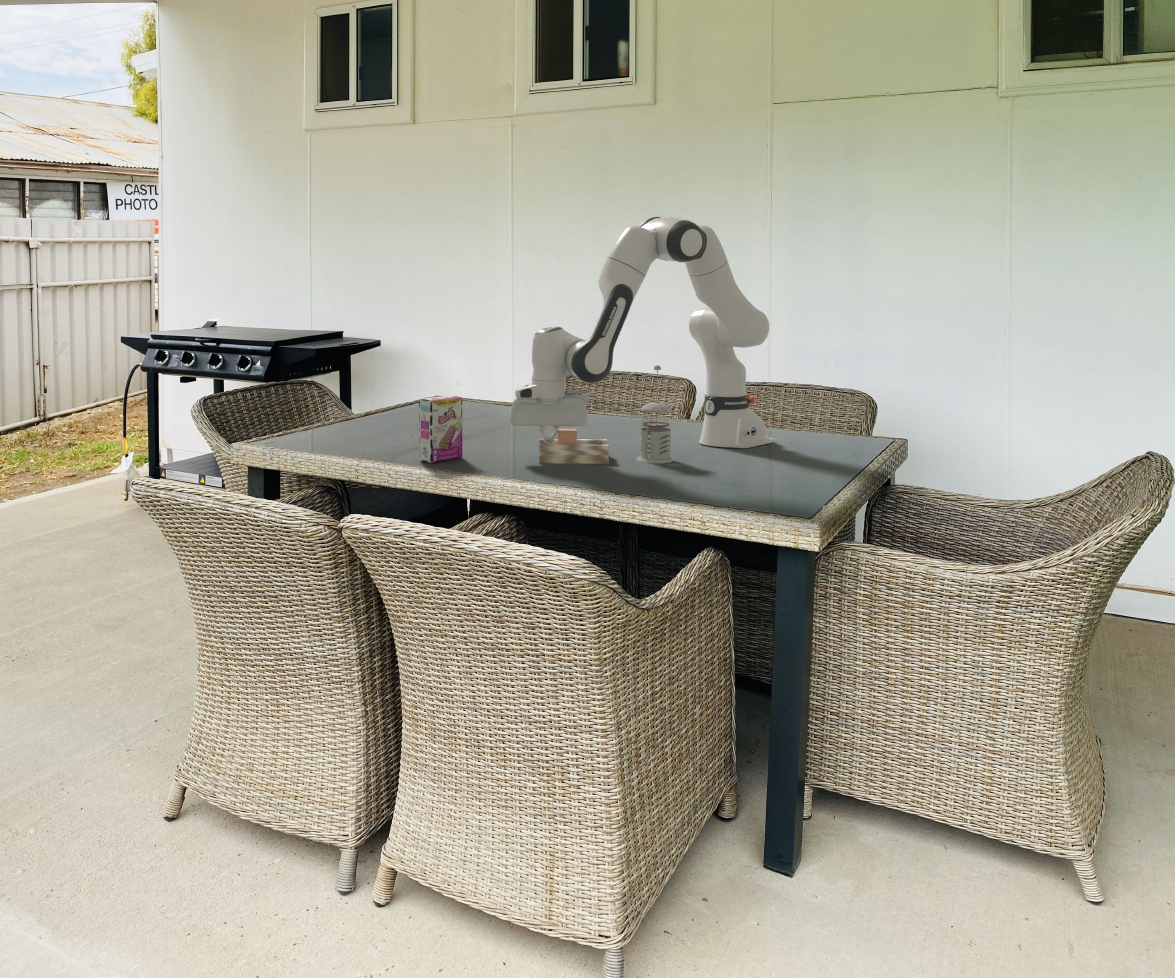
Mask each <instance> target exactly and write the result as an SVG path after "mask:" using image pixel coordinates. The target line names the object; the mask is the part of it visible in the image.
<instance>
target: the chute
mask: <svg viewBox="0 0 1175 978" xmlns="http://www.w3.org/2000/svg"><path fill="white" fill-rule="evenodd" d="M538 441H539V447H538V448H539V449H538V452H539V454H538V460H539V461H538V462H539V464H542V465H543V464H544V465H545V464H555V465H556V464H563V465H564V464H565V465H566V464H568V465H569V464H576V465H577V464H580V465H581V464H590V465H591V464H592V465H593V464H594V465H597V464H603V465H604V464H605V465H607V464H608V465H609V463H610V460H609V459H610V455H609V453H610V452H609V448H610V447H609V444H608V439H607V438H603V439H600V438H599V439H594V438H593V439H592V438H591V439H590V438H589V439H587V438H585V439H583V438H582V439H581V438H579V439H578V438H577V445H557V439H555V438H554V443H544V438H540V439H539V440H538Z"/></svg>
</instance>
